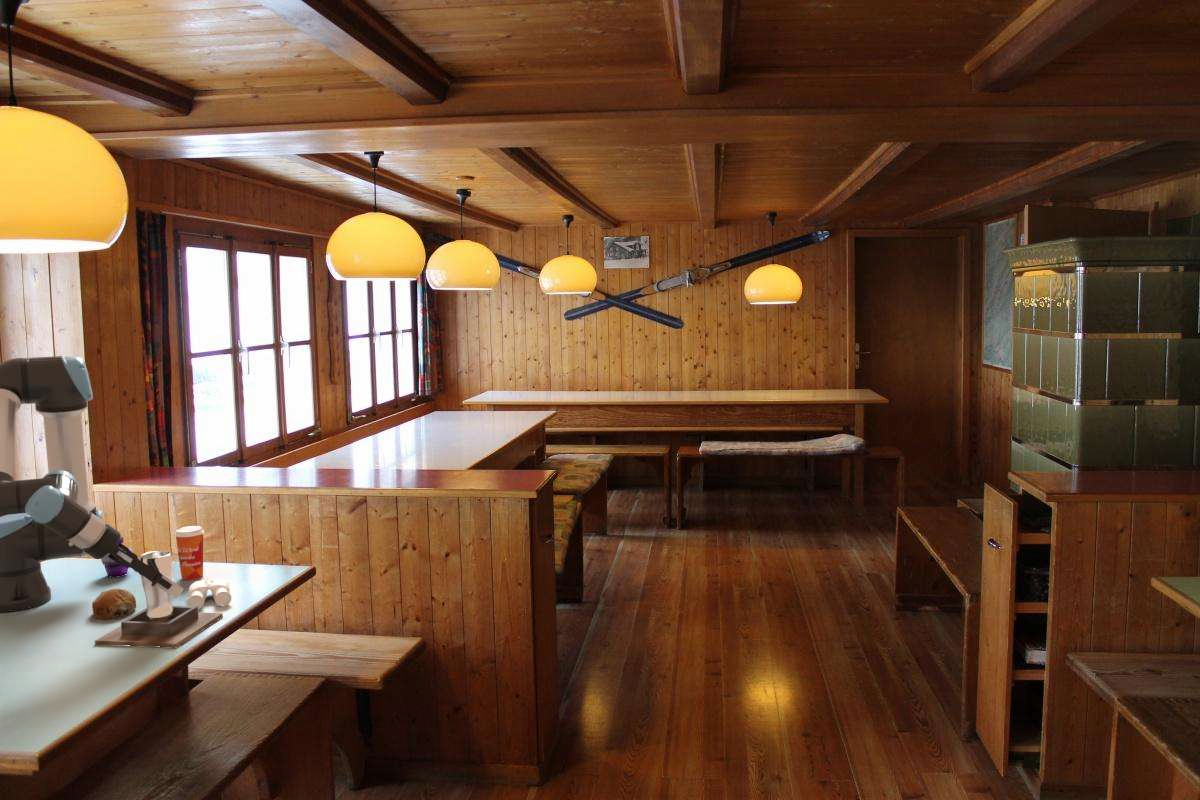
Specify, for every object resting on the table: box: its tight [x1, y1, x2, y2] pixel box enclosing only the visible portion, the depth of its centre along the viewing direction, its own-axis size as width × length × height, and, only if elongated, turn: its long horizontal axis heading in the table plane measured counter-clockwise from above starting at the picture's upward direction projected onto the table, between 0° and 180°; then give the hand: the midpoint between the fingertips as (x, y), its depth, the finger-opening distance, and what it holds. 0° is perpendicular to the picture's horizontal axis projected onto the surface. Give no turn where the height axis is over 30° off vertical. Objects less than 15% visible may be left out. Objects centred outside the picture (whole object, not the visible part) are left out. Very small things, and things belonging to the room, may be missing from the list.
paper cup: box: [174, 525, 205, 581], centre depth 262 cm, size 8×8×14 cm
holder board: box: [94, 605, 224, 648], centre depth 221 cm, size 20×20×4 cm
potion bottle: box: [101, 533, 133, 578], centre depth 265 cm, size 9×9×12 cm
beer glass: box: [140, 550, 174, 620], centre depth 220 cm, size 7×7×15 cm
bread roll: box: [91, 587, 137, 620], centre depth 234 cm, size 10×10×8 cm
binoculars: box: [186, 577, 232, 610], centre depth 244 cm, size 10×16×5 cm, turn 23°
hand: (173, 589), depth 222 cm, fingers closed on beer glass, 7 cm apart
